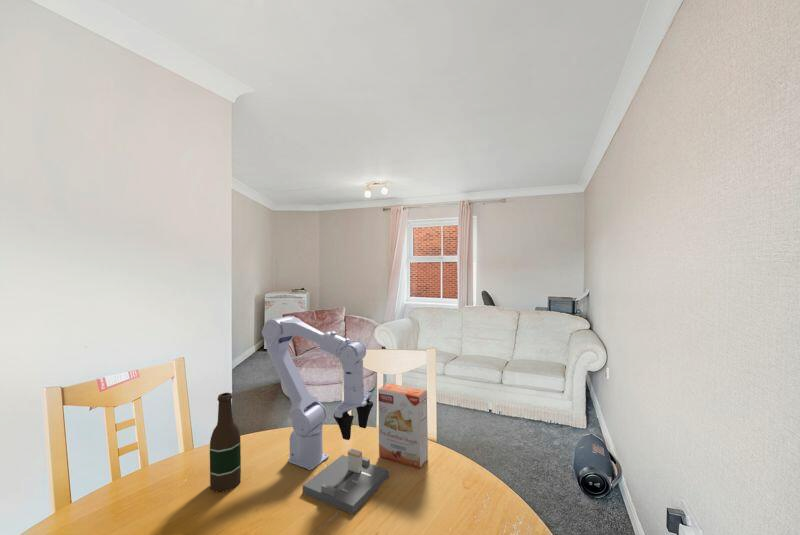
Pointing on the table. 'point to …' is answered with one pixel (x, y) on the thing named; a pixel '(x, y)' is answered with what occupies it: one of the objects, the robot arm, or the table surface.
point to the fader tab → (355, 460)
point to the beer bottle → (225, 448)
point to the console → (346, 484)
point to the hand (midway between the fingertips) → (354, 432)
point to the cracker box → (403, 424)
